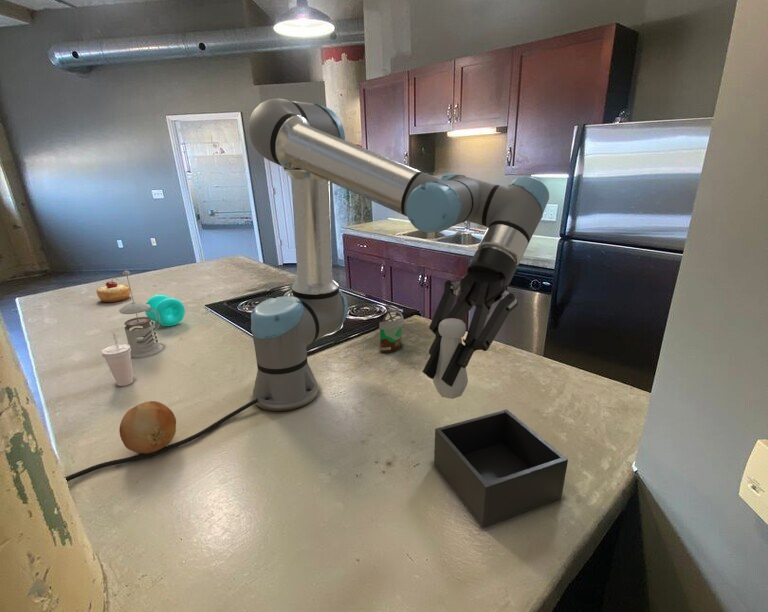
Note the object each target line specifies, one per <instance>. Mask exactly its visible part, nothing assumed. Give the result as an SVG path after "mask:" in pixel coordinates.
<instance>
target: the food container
mask: <svg viewBox="0 0 768 612" xmlns="http://www.w3.org/2000/svg"><path fill="white" fill-rule="evenodd" d="M404 324H405V318H404V316H403V313H402V312H400V311H399V310H396V309H392V308H391V309H390V308H387V309H386V314H385V315H384V316H383V319H382V321H380V322H379V324H378V325H379V327H378V329H379V339H380V340H379V341H380V353H392V352H395V351H397V350H399V349H400V348H401V342H402V329H403V325H404Z"/></svg>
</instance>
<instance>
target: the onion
mask: <svg viewBox="0 0 768 612" xmlns="http://www.w3.org/2000/svg"><path fill="white" fill-rule="evenodd" d="M176 431H177V418H176V416H175V414H174V412H173V410H172V409H170V408H169V407H168V406H167V405H166V404H164V403H162V402H160V401H156V400H149V401H144V402H141V403H139V404H137V405H135V406H133V407H131V408H129V409H128V410H127V411H126V412H125V413H124V415H123V417H122V419H121V421H120V423H119V437H120V440H121V443H122V444H123V445H124V447H125V448H126V449H128V450H129V451H131V452H134V453H135V454H147V453H153V452H156V451H158V450H160V449H162V448H164V447H165V446H168V445H170V443H171V442H172V440H173V439H174V437H175V435H176Z"/></svg>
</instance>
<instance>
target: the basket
mask: <svg viewBox="0 0 768 612" xmlns="http://www.w3.org/2000/svg"><path fill="white" fill-rule="evenodd" d="M433 451H434V452H433V453H434V457H433V461H434V462H433V465H434V467H435V468H436V470H438V472H439V474H441V476H442V477H443V479H444V480H445V481H446V482H447V484H448V485H449V486H450V487H451V489H452V490H453V492H454V493H455V494H456V496H457V497H458V499H459V500H460V501H461V502H462V504H464V506H465V507H466V509H467V510H468V512H469V513H470V514H471V515H472V517H473V518H474V520H475V521H476V522H477V523H478V524H479V525H478V526H480V528H482V529H484V528H486V527H489V526H492V525H494V524H497V523H499V522H502V521H505V520H508V519H510V518H513V517H515V516H519V515H521V514H524V513H526V512H529V511H532V510H535V509H536V508H540V507H542V506H545V505H547V504H550V503H553V502H556V501H558V500H561V499H562V498H563V497H562V496H563V492H564V491H563V490H564V486H565V480H566V475H567V474H566V473H567V468H568V463H569V459H568V458H567V457H566V456H565V455H563V454H562V453H561V452H560V451H559V450H557V449H556V448H555V447H553V445H551V444H550V443H549V442H548V441H546V440H545V439H544V438H543V437H542V436H540V435H539V434H538V433H536V432H535V431H534V430H533V429H531V428H530V427H529V426H528V425H527V424H525V422H523V421H522V420H521V419H519V417H517V416H516V415H514V414H513V413H512V412H511V411H509V409H503V410H500V411H496V412H492V413H488V414H485V415H481V416H477V417H474V418H470V419H466V420H463V421H459V422H455V423H452V424H448V425H444V426H440V427H437V428H434V450H433Z"/></svg>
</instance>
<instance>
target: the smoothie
mask: <svg viewBox="0 0 768 612" xmlns="http://www.w3.org/2000/svg"><path fill="white" fill-rule="evenodd" d="M112 336H113V340H114V345H110V346H108V347H107V346H106V347H105V348H103V349H102V350H101V357H103V358H104V359H105V362H106V364H107V366H108V368H109V371H110V372H111V373H110V374H111V375H112V377H113V379H114V381H115V384H116V385H117V386H118V387H125V386H128V385H131V384H132V383H133V382H134V374H133V365H132V357H131V354H130V351H131V347H130V345H129V344H127V343H119V341H118V336H117V335H116V332H115V331H112Z"/></svg>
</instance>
